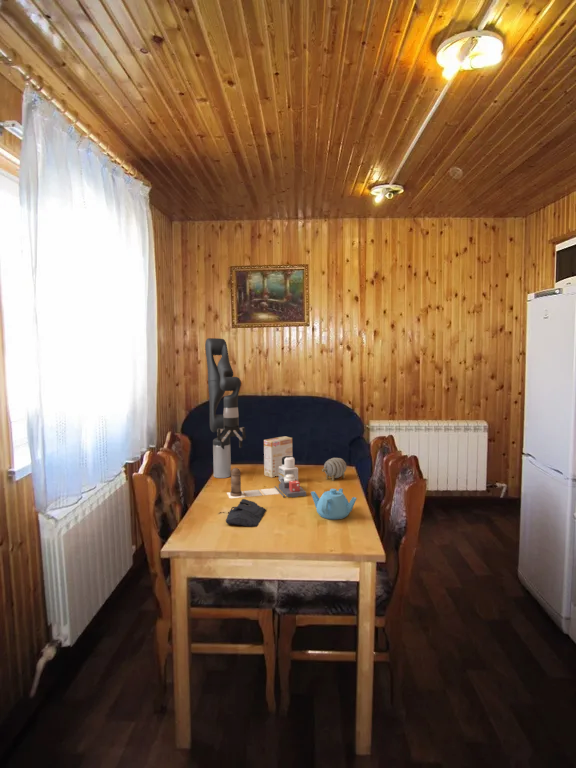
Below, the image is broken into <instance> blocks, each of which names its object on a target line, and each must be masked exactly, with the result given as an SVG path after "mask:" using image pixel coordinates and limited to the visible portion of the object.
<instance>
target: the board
mask: <svg viewBox="0 0 576 768" xmlns="http://www.w3.org/2000/svg"><path fill="white" fill-rule="evenodd" d="M230 492H231V491H230ZM230 492H226V494H227V496H228V498H229V499H239V498H246V497H247V498H250V497H252V498H253V497H262V496H271V495H272V496H273V495H281V497H283V498H285V495H284V493H283V492H282V491H281V490H280V489H279V487H277V486H273V487H272V488H264V489H263V488H261V489H252V490H251V489H250V490H243V491H242V490H241V492H242V495H241V496H236V497H235V496H231V495H230Z"/></svg>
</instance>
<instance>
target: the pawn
mask: <svg viewBox="0 0 576 768" xmlns="http://www.w3.org/2000/svg"><path fill="white" fill-rule="evenodd" d="M241 479H242V475H241V469H240V468H238V467H233V468H231V476H230V486H231V487H230V488H231V489H230V495H231V496H235V497H236V496H241V495H242V492H243V491H242V487H241V486H242V483H241V482H242V481H241ZM241 491H242V492H241Z"/></svg>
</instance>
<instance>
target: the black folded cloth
mask: <svg viewBox="0 0 576 768" xmlns="http://www.w3.org/2000/svg"><path fill="white" fill-rule="evenodd" d="M266 512H267V509H266V508H264V507H263V506H260V505H258V503H256V501H253V500H248V499H245V498H242V499H241V500H240V501H239V504H238V505H237V506H232V507H231V509H230V510H229V513H227V517H226V519H225V522H226V524H227V525H235V526H237V525H238V526H243V527H249V528H252V527H258V526H259V524H260V523H261V521H262V519H263V517H264V515H265V514H266Z"/></svg>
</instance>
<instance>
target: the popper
mask: <svg viewBox="0 0 576 768" xmlns="http://www.w3.org/2000/svg"><path fill="white" fill-rule="evenodd" d="M278 489H279V491H280V492H281V493H282V494H283V495H284V494H285V495H286V496H287V497H292V498H299V497H298V496H303V497H307V491H306V490H305V489H304V488H303V487H302V486H301V483H300V481H299V479H298V480H296V479H295V481H289V483H285V482H284V479H281V482H280V483H278ZM285 495H284V496H285ZM286 496H285V497H286ZM287 497H286V498H287Z"/></svg>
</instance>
